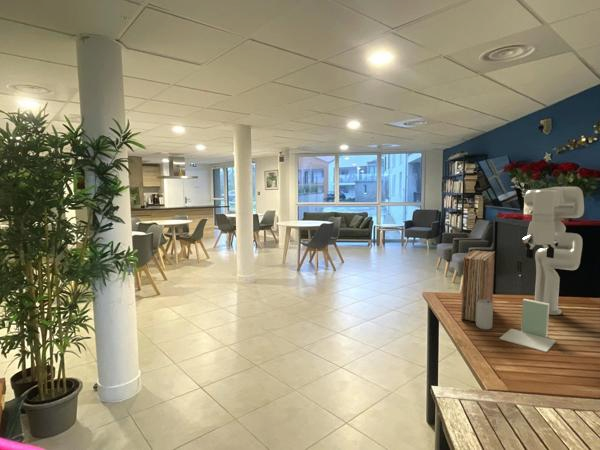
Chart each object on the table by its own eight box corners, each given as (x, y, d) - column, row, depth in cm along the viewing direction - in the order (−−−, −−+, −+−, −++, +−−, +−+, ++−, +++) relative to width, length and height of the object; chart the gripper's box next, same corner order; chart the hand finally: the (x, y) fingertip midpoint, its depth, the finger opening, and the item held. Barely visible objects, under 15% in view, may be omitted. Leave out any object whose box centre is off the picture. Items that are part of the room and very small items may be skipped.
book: (482, 324, 155) (486, 259, 152) (460, 320, 161) (463, 257, 158) (492, 308, 175) (494, 250, 172) (472, 305, 181) (474, 249, 178)
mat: (511, 329, 150) (511, 328, 150) (555, 341, 138) (555, 340, 138) (499, 339, 140) (499, 338, 140) (546, 352, 128) (546, 351, 128)
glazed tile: (522, 330, 149) (524, 298, 148) (547, 336, 142) (549, 303, 141) (520, 331, 148) (522, 299, 146) (545, 338, 141) (548, 304, 139)
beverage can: (494, 330, 148) (495, 303, 147) (478, 329, 150) (479, 303, 148) (489, 325, 155) (490, 299, 153) (473, 324, 156) (475, 298, 155)
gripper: (553, 218, 154) (550, 256, 155) (517, 218, 152) (515, 256, 153) (568, 219, 146) (565, 259, 148) (531, 219, 144) (528, 259, 146)
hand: (539, 257), depth 151 cm, fingers open, 9 cm apart
